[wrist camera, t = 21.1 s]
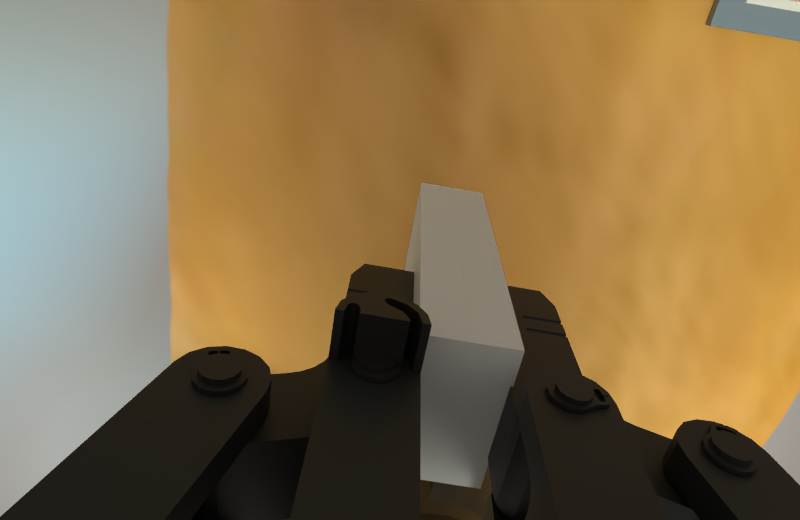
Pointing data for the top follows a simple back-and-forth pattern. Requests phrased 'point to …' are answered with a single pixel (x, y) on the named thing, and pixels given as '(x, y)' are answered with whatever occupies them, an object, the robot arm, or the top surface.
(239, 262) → the top surface
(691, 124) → the top surface
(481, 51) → the top surface
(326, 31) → the top surface
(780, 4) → the picture board
